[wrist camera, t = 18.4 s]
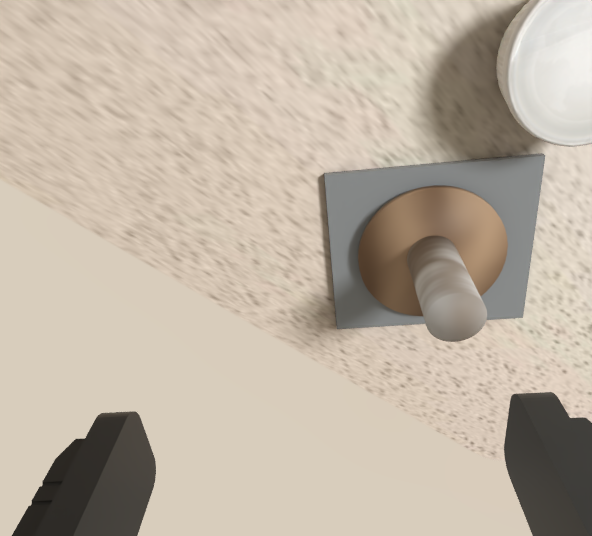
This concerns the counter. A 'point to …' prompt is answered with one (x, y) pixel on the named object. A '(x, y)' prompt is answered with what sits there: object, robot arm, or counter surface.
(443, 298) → the lid
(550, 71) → the ramekin
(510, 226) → the mat
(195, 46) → the counter surface
